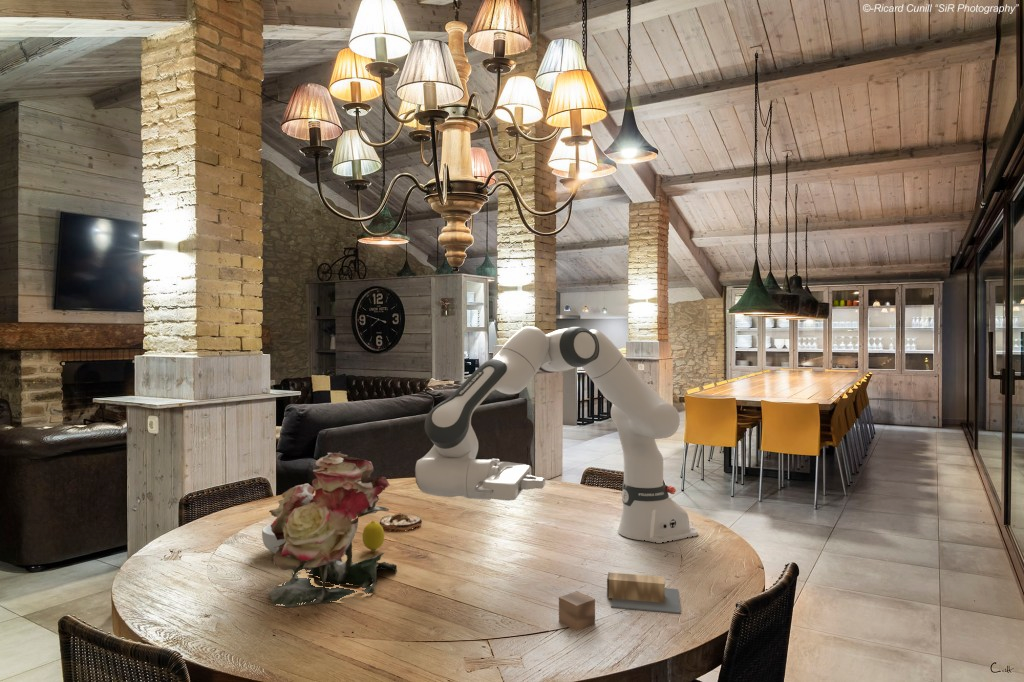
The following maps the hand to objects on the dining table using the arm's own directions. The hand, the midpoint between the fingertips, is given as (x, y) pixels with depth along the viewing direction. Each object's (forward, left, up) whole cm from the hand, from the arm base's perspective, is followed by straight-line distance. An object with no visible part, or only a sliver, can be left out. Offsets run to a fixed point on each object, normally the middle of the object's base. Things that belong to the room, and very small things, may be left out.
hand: (544, 483), depth 140 cm
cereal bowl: (+53, -42, -24) cm, 71 cm away
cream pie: (+24, -58, -24) cm, 67 cm away
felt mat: (-19, +11, -24) cm, 32 cm away
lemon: (+34, -37, -24) cm, 55 cm away
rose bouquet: (+46, -17, -24) cm, 54 cm away
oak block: (-12, +7, -21) cm, 26 cm away
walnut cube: (0, +17, -24) cm, 29 cm away
